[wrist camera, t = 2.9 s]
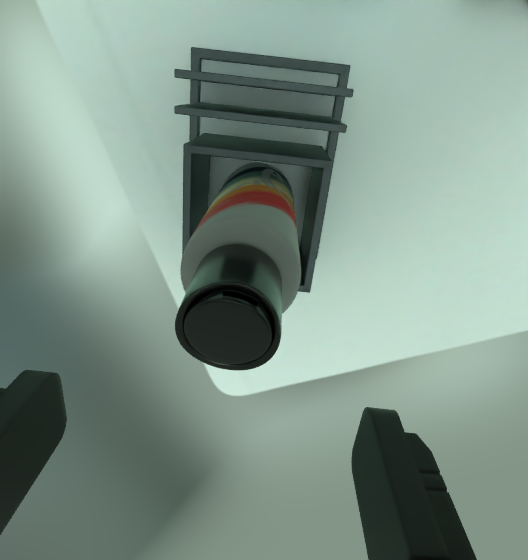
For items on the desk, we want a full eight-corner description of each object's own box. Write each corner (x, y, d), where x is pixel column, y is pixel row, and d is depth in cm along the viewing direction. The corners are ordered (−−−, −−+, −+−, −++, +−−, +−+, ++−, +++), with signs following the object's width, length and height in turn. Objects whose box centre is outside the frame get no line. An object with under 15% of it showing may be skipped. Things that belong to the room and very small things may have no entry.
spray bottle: (303, 177, 31) (336, 297, 13) (277, 240, 33) (274, 418, 15) (235, 150, 30) (167, 238, 12) (214, 217, 32) (130, 374, 14)
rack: (192, 48, 27) (160, 31, 20) (349, 65, 27) (373, 56, 20) (189, 242, 33) (163, 283, 26) (316, 256, 34) (325, 301, 26)
